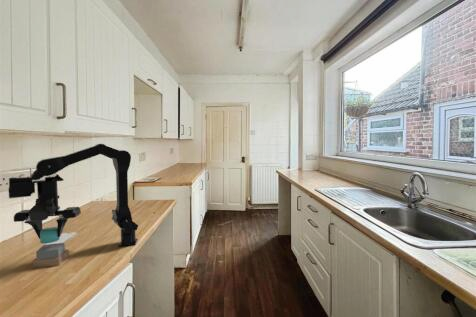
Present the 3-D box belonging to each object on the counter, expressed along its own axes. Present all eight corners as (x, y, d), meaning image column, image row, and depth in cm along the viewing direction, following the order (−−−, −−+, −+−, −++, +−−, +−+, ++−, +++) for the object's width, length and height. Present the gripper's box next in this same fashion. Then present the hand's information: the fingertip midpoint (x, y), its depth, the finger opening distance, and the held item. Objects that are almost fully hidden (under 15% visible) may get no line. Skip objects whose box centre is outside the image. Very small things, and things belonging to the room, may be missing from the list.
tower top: (44, 252, 93) (43, 244, 93) (64, 250, 95) (64, 242, 95) (36, 260, 87) (36, 251, 87) (58, 257, 89) (58, 249, 89)
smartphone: (41, 246, 106) (61, 232, 120) (41, 248, 106) (62, 235, 120) (60, 245, 106) (78, 232, 121) (60, 247, 107) (78, 234, 121)
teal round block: (45, 238, 93) (44, 227, 93) (62, 237, 94) (61, 226, 94) (37, 244, 88) (36, 232, 87) (55, 242, 89) (54, 231, 89)
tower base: (44, 259, 95) (44, 251, 95) (68, 257, 97) (68, 249, 96) (32, 269, 87) (32, 261, 87) (59, 266, 89) (59, 258, 89)
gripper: (1, 200, 80) (4, 249, 81) (67, 197, 85) (70, 243, 85) (22, 194, 91) (24, 237, 92) (80, 191, 95) (82, 232, 96)
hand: (49, 237), depth 91 cm, fingers closed on teal round block, 5 cm apart
